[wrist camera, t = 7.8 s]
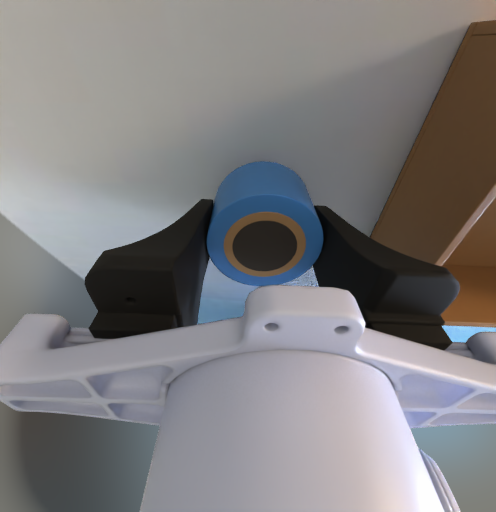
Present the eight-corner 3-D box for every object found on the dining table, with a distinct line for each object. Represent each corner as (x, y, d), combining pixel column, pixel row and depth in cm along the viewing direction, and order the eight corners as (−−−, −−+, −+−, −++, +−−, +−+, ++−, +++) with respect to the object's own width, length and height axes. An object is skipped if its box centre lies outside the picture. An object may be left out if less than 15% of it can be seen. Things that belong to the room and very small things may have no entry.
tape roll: (232, 252, 16) (228, 295, 14) (199, 177, 13) (185, 213, 10) (314, 234, 15) (328, 276, 13) (301, 147, 12) (317, 178, 9)
